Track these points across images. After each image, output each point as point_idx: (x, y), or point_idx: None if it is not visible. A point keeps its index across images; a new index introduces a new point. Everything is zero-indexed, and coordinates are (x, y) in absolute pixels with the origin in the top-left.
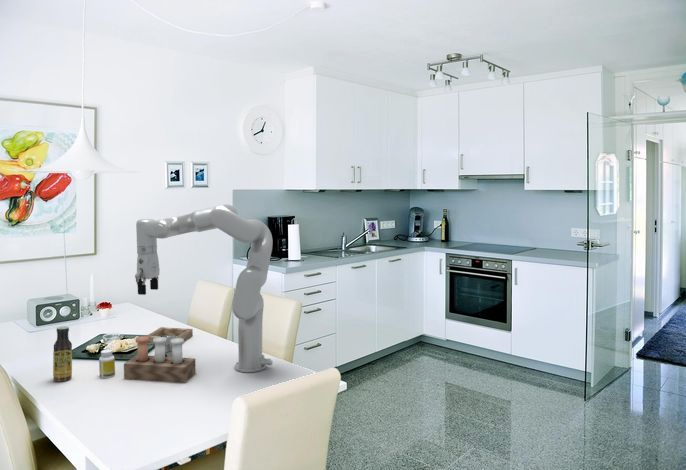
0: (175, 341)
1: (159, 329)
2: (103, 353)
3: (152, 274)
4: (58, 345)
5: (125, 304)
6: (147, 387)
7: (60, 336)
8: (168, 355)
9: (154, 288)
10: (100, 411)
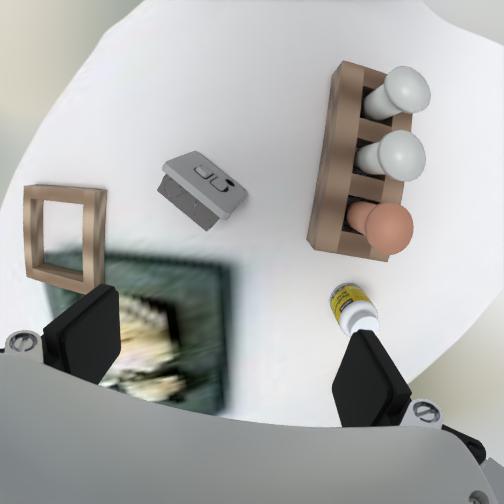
0: (427, 93)
1: (39, 275)
2: (378, 331)
3: (324, 493)
4: None
5: None
6: (420, 177)
7: None
8: (222, 175)
9: (115, 319)
10: (496, 235)
